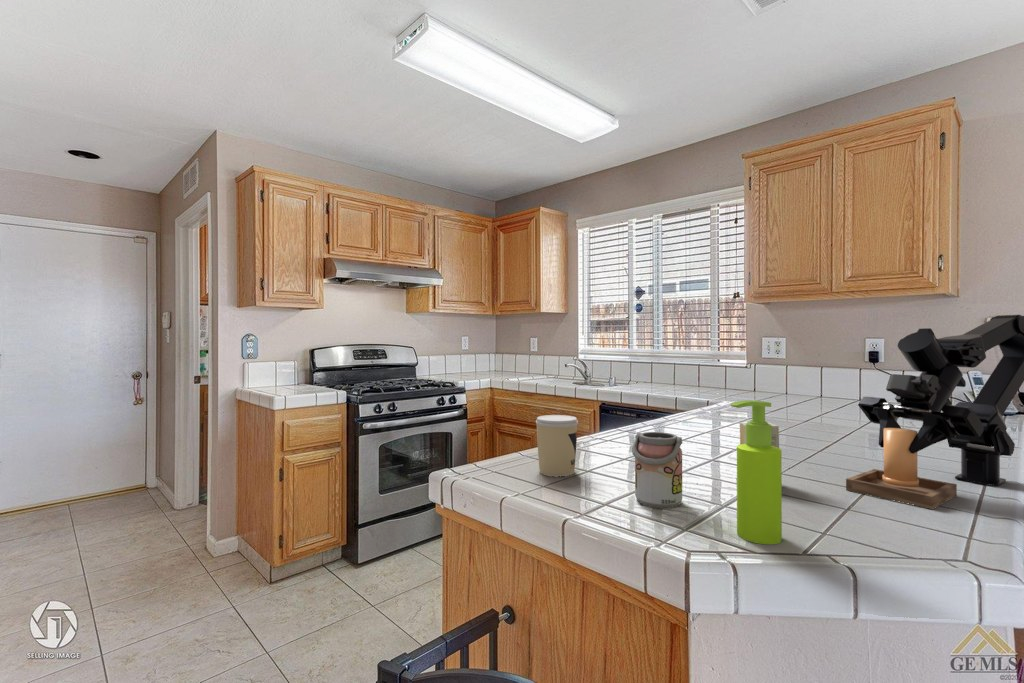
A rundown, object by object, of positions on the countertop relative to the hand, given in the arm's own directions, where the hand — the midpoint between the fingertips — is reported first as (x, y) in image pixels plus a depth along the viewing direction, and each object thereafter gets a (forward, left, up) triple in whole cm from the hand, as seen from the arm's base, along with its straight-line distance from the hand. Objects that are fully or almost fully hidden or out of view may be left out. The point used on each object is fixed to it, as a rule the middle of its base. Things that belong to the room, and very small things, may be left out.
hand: (895, 448), depth 91 cm
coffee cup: (+43, -48, -9) cm, 65 cm away
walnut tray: (-1, 0, -8) cm, 9 cm away
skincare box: (+15, -18, -9) cm, 25 cm away
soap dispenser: (+41, -4, -9) cm, 42 cm away
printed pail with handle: (+41, -22, -9) cm, 47 cm away
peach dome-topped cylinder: (-1, 0, -7) cm, 7 cm away
